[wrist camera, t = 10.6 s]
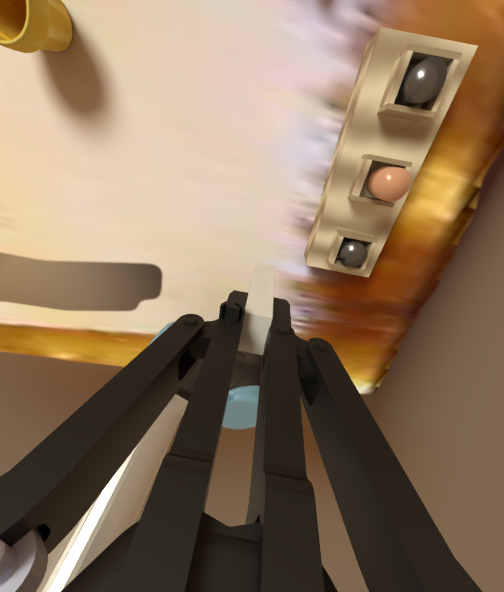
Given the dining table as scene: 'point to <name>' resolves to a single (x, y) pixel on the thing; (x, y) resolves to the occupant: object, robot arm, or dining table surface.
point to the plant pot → (34, 25)
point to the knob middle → (389, 183)
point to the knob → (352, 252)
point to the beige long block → (380, 144)
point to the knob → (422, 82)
